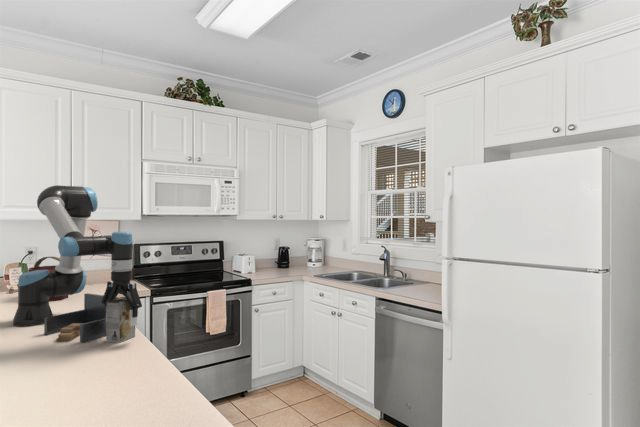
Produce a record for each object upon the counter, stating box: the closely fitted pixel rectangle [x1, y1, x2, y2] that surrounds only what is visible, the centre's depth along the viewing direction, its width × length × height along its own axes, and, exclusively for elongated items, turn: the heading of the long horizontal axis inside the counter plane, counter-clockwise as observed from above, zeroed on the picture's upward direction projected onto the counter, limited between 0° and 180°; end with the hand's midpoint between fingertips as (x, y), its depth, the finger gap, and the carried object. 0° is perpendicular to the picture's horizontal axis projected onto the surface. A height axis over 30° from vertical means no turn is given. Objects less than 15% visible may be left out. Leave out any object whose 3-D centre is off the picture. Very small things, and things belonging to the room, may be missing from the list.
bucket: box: [27, 256, 69, 303], centre depth 239 cm, size 24×22×25 cm
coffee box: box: [105, 296, 136, 344], centre depth 163 cm, size 9×6×16 cm
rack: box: [43, 292, 120, 344], centre depth 171 cm, size 24×19×14 cm
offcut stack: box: [56, 323, 84, 343], centre depth 165 cm, size 12×6×4 cm, turn 7°
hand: (121, 323), depth 163 cm, fingers open, 13 cm apart
